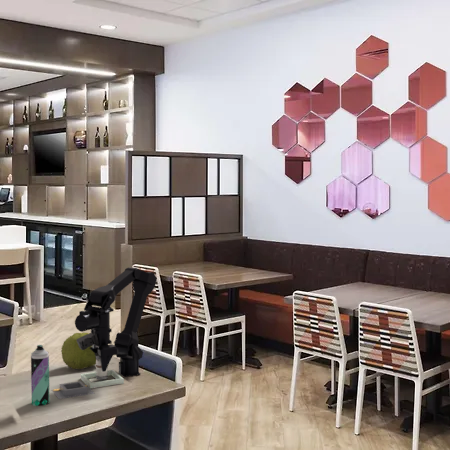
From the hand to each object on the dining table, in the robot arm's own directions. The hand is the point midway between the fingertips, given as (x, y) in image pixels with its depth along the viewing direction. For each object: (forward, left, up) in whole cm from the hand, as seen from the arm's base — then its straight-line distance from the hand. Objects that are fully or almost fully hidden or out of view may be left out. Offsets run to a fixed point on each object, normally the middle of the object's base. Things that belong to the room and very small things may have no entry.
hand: (101, 369), depth 230 cm
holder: (+12, +7, -6) cm, 15 cm away
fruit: (0, -24, -6) cm, 25 cm away
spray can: (+24, +13, -6) cm, 28 cm away
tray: (0, 0, -6) cm, 6 cm away
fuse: (0, 0, -3) cm, 3 cm away
